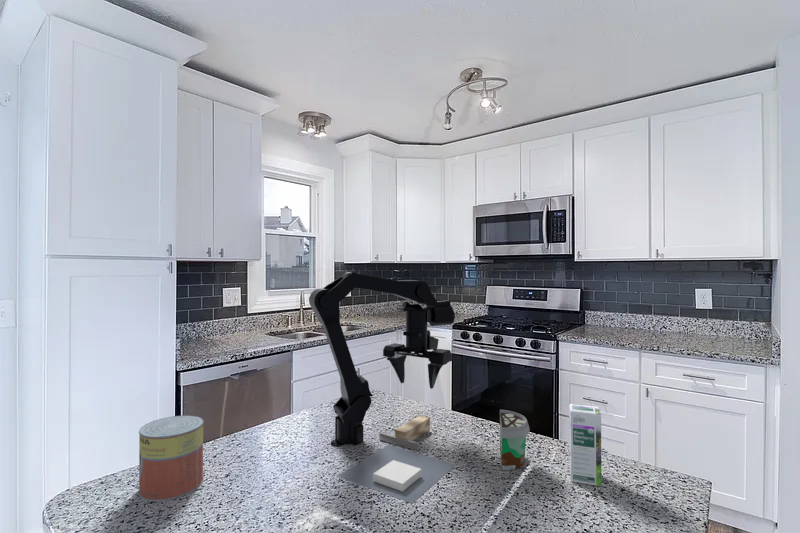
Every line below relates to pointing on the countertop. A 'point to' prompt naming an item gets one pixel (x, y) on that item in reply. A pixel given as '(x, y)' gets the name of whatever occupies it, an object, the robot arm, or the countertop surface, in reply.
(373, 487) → the slate board
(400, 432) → the block
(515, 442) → the food container
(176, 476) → the canned food
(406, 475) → the tile
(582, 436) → the syrup box
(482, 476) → the countertop surface
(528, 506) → the countertop surface
